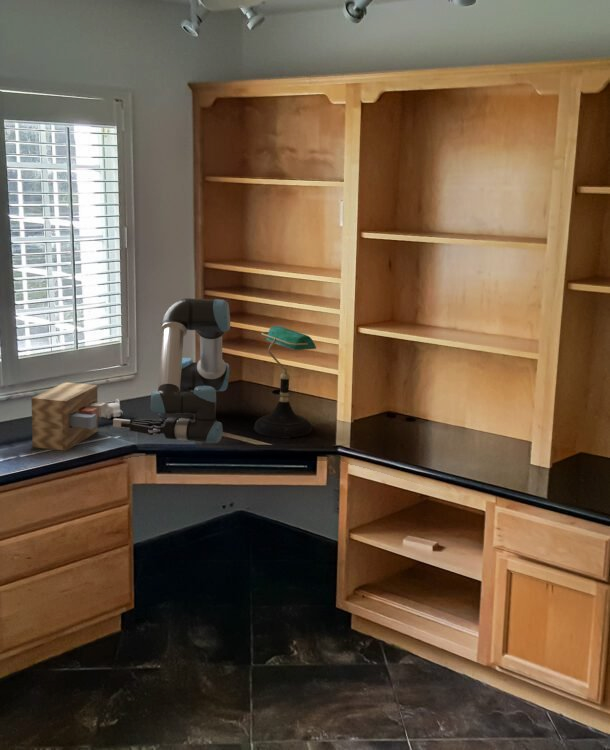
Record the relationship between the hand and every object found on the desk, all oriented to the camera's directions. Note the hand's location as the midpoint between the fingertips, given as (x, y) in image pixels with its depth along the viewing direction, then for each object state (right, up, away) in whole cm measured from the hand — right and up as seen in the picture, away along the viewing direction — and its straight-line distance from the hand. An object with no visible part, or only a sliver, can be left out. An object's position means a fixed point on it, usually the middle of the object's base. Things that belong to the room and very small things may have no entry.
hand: (114, 422), depth 309 cm
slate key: (-13, -1, +3) cm, 14 cm away
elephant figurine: (-11, -1, +45) cm, 46 cm away
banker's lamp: (+59, -5, +38) cm, 70 cm away
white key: (-14, +2, +19) cm, 23 cm away
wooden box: (-21, -7, +14) cm, 26 cm away
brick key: (-15, 0, +11) cm, 19 cm away
